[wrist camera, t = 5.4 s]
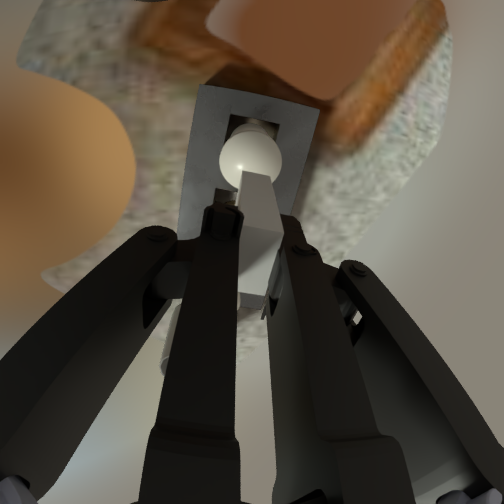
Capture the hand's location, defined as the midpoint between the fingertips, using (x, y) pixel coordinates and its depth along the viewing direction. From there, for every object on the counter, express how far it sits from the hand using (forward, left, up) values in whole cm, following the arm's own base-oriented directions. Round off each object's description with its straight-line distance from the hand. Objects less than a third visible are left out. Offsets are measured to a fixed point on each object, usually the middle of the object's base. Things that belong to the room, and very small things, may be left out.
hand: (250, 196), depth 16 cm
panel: (+8, 0, -18) cm, 19 cm away
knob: (0, 0, -15) cm, 15 cm away
